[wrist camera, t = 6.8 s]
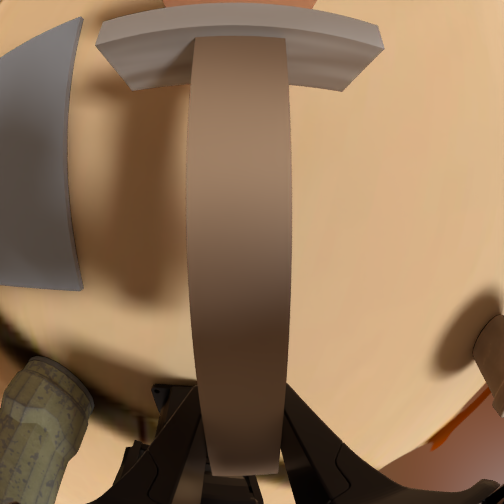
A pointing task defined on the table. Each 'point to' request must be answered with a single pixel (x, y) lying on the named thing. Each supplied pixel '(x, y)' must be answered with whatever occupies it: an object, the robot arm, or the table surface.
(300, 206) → the table surface
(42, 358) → the thermos
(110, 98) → the table surface
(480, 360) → the flower pot
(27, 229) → the mat
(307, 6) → the tile
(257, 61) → the scraper
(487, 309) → the table surface
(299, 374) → the table surface
